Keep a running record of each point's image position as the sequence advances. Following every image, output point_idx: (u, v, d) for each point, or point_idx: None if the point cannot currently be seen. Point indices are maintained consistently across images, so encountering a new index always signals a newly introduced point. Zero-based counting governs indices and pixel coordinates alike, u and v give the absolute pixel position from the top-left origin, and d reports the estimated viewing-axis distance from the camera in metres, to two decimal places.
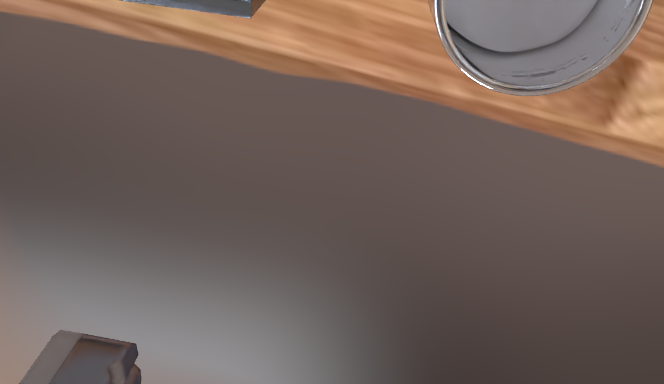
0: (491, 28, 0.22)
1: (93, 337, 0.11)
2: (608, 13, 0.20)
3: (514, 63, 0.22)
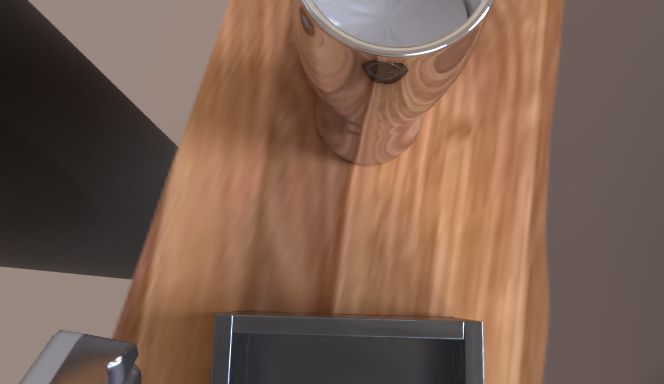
0: (445, 34, 0.21)
1: (93, 337, 0.11)
2: None
3: None
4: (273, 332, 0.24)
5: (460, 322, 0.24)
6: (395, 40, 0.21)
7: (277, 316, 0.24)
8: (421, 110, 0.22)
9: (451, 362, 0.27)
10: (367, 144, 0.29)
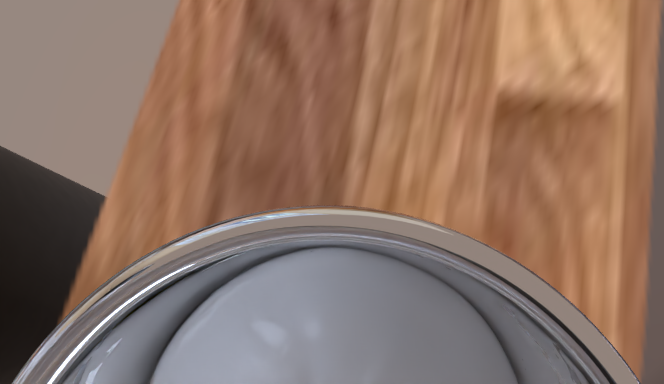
0: None
1: None
2: (394, 248, 0.08)
3: None
4: None
5: None
6: None
7: None
8: None
9: None
10: None
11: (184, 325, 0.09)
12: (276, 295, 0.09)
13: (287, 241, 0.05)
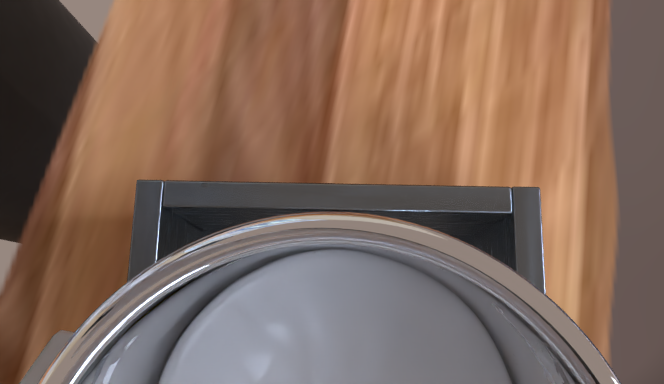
0: None
1: None
2: None
3: None
4: (223, 205, 0.16)
5: (506, 188, 0.16)
6: None
7: (230, 182, 0.16)
8: None
9: None
10: None
11: (193, 323, 0.10)
12: (280, 294, 0.10)
13: (292, 244, 0.06)
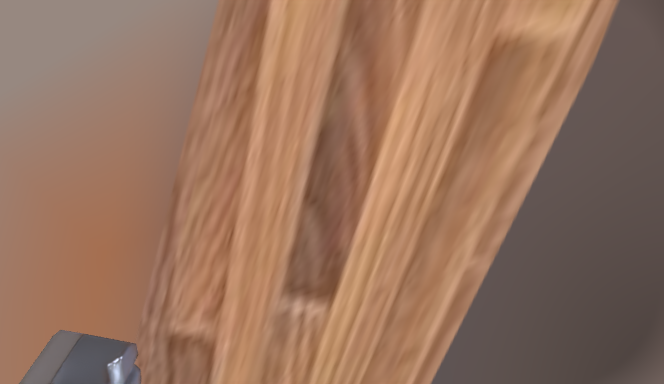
0: None
1: (94, 337, 0.11)
2: None
3: None
4: None
5: None
6: None
7: None
8: None
9: None
10: None
11: None
12: None
13: None
